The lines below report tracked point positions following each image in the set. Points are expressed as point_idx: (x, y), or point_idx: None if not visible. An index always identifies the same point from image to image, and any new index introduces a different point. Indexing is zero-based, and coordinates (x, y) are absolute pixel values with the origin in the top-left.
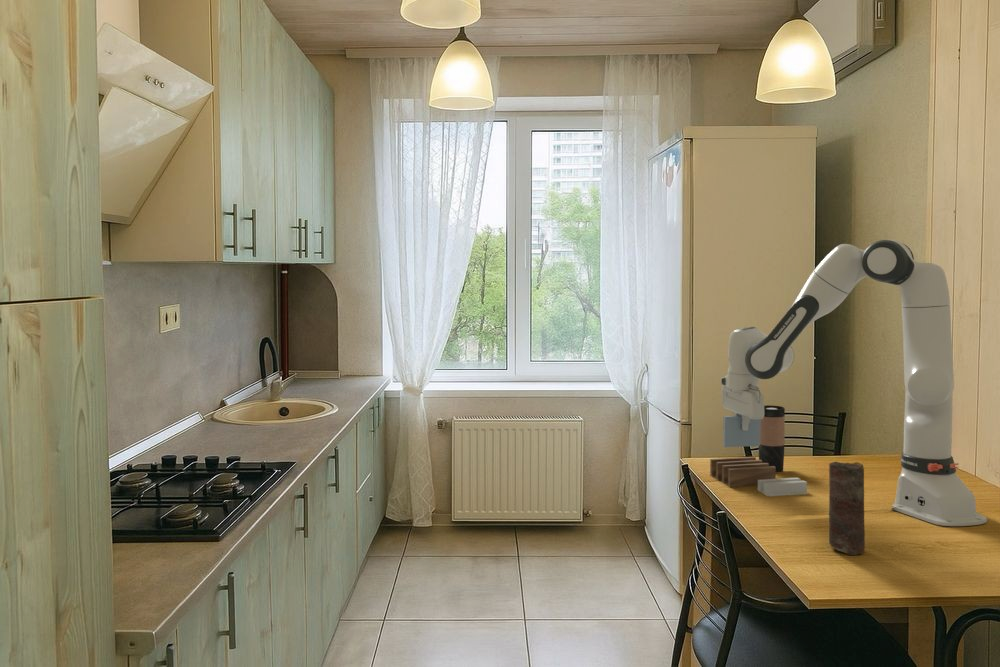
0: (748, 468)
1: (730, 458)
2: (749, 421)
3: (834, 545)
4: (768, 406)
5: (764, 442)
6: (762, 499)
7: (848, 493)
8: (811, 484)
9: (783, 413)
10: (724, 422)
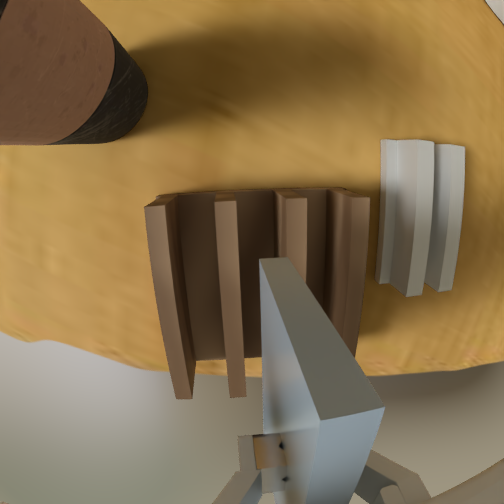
0: (357, 320)
1: (171, 330)
2: (397, 465)
3: None
4: None
5: (70, 126)
6: (426, 285)
7: None
8: (320, 44)
9: None
10: None
